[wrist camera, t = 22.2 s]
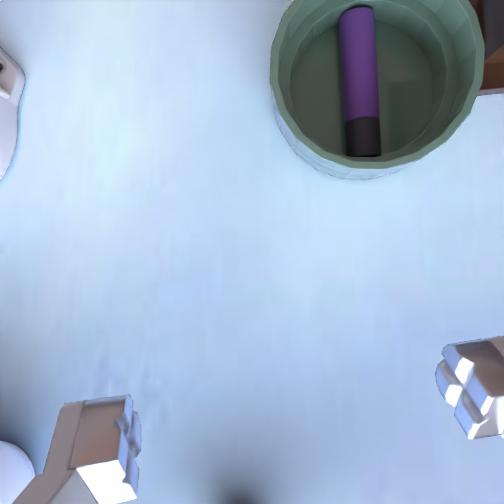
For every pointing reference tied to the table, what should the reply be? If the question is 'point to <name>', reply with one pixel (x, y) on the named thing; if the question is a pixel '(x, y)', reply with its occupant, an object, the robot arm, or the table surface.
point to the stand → (491, 44)
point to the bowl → (389, 80)
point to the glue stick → (360, 83)
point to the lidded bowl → (13, 472)
